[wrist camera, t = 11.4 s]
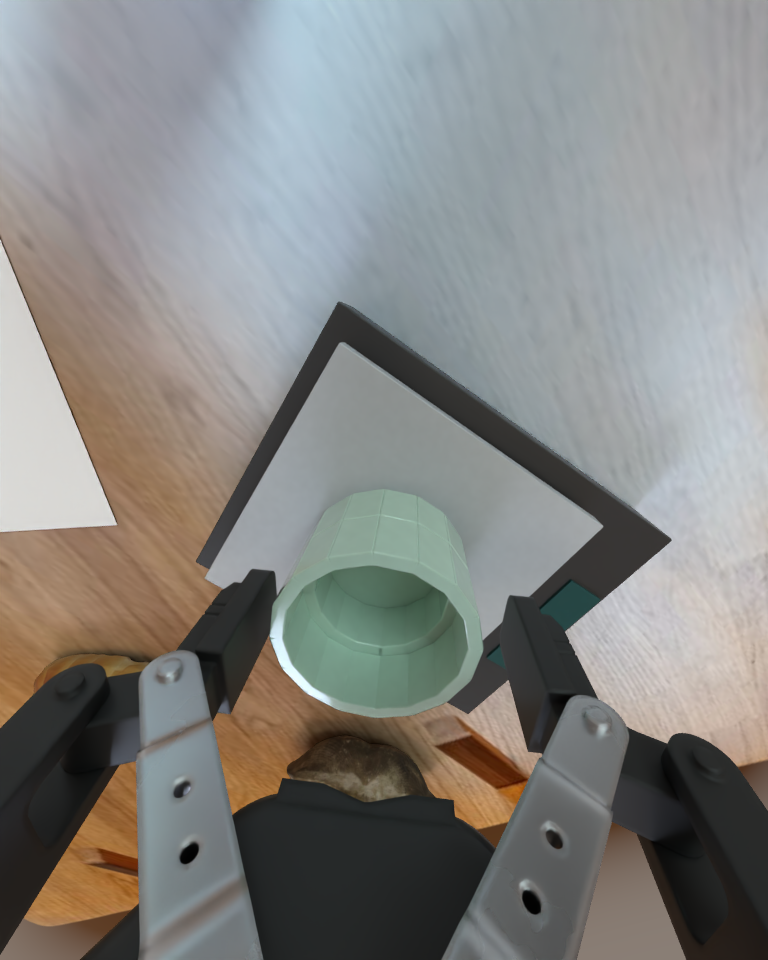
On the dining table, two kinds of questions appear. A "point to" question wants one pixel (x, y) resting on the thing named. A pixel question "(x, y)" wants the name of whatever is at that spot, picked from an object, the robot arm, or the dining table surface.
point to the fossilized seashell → (360, 769)
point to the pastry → (109, 663)
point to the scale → (428, 486)
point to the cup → (379, 608)
